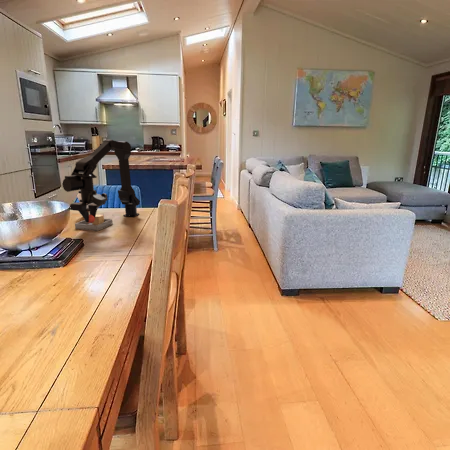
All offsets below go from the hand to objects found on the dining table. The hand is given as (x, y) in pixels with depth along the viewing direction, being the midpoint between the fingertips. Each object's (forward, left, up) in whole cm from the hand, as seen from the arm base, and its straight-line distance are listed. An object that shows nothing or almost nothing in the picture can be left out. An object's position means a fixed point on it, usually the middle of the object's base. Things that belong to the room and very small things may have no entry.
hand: (90, 220), depth 148 cm
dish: (-2, 0, -3) cm, 4 cm away
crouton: (-5, 0, -3) cm, 6 cm away
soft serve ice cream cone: (-18, -16, -4) cm, 25 cm away
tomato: (0, 0, -1) cm, 1 cm away
